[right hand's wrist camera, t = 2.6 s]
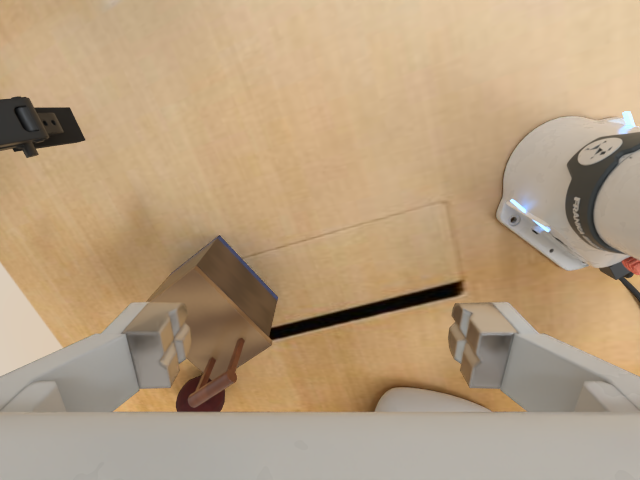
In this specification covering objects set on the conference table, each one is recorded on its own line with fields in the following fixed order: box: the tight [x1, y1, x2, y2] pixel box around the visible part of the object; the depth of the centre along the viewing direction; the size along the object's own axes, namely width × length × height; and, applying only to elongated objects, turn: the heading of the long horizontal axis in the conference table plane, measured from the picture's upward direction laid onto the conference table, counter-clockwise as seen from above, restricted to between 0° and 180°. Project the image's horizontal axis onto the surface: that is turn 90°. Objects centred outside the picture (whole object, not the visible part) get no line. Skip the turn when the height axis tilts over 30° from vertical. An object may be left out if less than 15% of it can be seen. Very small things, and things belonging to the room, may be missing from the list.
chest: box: [146, 235, 278, 337], centre depth 47 cm, size 13×10×10 cm
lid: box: [150, 265, 272, 408], centre depth 39 cm, size 14×10×8 cm
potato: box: [176, 376, 225, 412], centre depth 55 cm, size 7×8×7 cm
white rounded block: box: [375, 387, 492, 412], centre depth 55 cm, size 22×23×15 cm
